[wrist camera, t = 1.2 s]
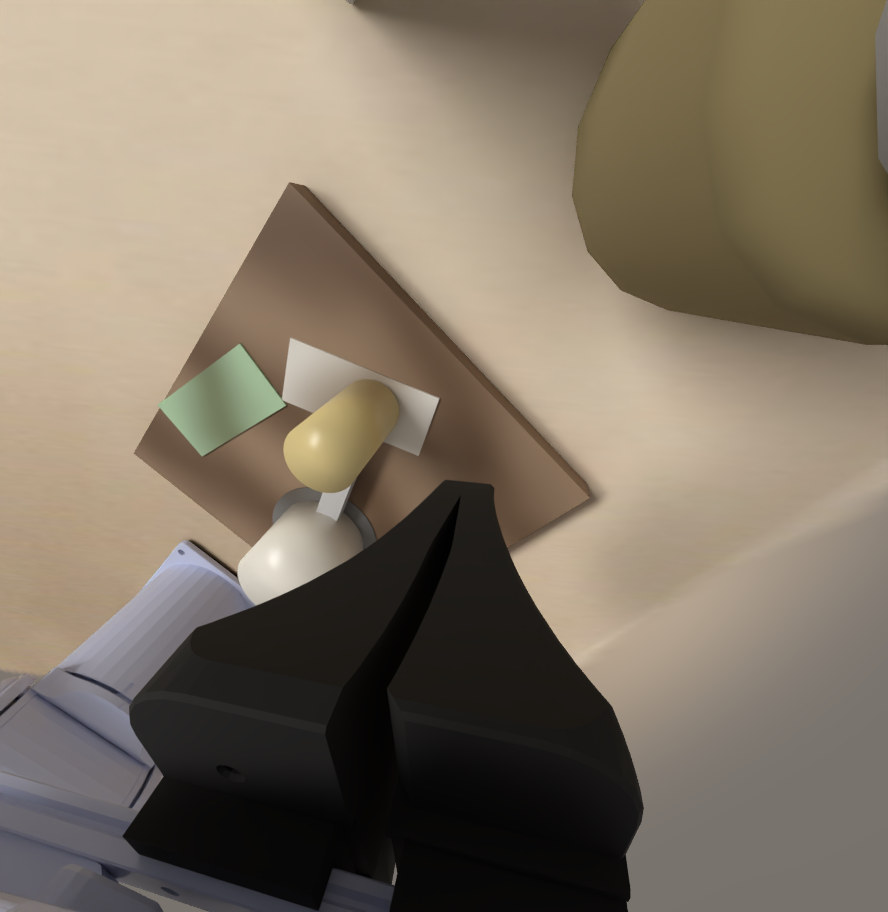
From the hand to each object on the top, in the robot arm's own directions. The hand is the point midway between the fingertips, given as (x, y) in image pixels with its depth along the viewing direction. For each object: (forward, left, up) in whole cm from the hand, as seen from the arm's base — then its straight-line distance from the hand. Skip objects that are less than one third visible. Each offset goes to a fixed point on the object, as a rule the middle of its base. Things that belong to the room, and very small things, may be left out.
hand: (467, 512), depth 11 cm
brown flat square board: (-9, +3, -9) cm, 13 cm away
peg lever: (-9, +2, -8) cm, 12 cm away
